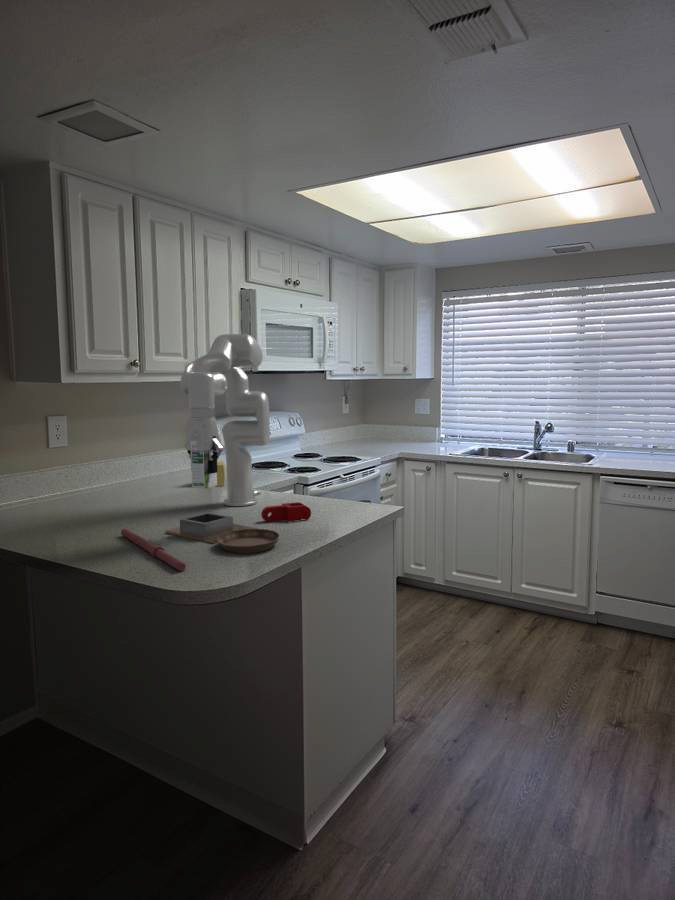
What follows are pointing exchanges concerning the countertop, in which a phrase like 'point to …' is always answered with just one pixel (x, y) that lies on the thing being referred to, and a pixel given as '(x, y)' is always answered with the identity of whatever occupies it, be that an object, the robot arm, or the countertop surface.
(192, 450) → the syrup box
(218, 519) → the collar
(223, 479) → the cheese
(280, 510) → the mechanical linkage
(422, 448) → the countertop surface
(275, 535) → the plant saucer
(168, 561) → the rolling pin
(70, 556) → the countertop surface
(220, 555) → the countertop surface
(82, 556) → the countertop surface
